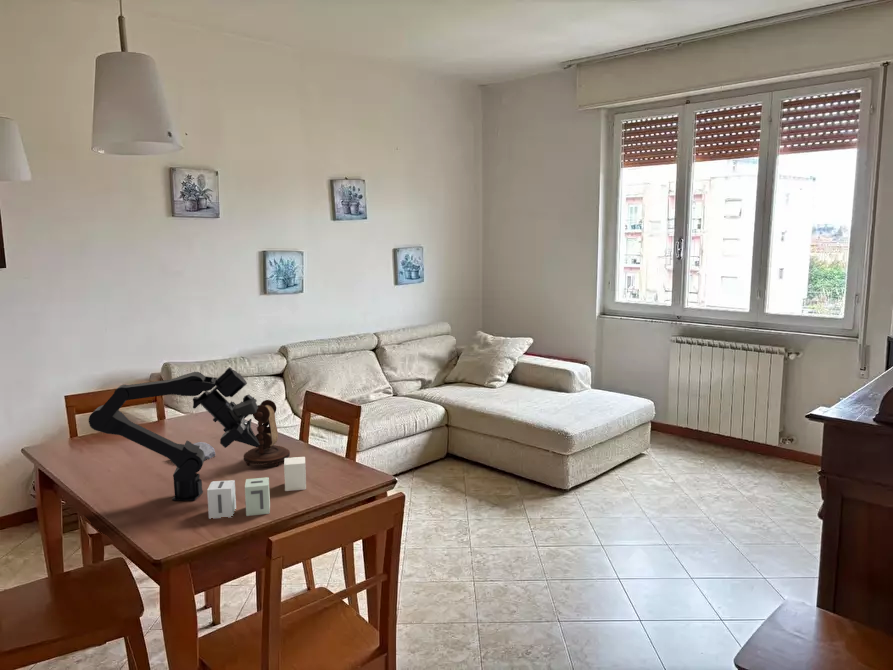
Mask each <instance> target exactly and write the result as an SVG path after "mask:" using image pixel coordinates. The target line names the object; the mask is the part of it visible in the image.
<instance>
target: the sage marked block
mask: <svg viewBox="0 0 893 670" xmlns="http://www.w3.org/2000/svg"><path fill="white" fill-rule="evenodd" d="M244 498H245V499H244V500H245V515H246V517H249V516H259V515H268V514H270V513H271V512H270V511H271V500H270V499H271V498H270V478H269V476H268V477H267V476H266V477H257V478H246V479H245V484H244Z"/></svg>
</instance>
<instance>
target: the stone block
mask: <svg viewBox="0 0 893 670" xmlns="http://www.w3.org/2000/svg"><path fill="white" fill-rule="evenodd" d="M193 444H194V445H196V446H200V449H201V450H202V451H203V452H204V455H205V459H204V461H207V460H206V459H208V460H210V458H211V459H213V458H215V457H216V451H215V448H214V447H213V446H212V445H211V444H209V443H207V442H203V441H199V442H195V443H193ZM214 456H215V457H214ZM212 457H213V458H212Z"/></svg>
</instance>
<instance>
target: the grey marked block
mask: <svg viewBox="0 0 893 670" xmlns="http://www.w3.org/2000/svg"><path fill="white" fill-rule="evenodd" d="M206 491H207V507H208V508H207V509H208V511H207V512H208V519H209V520H211V518H213V519H222V518H221V517H228V518H232V517H231V516H233V517H234V515H233V514H235V512H234V511H236V510H237V499H236V498H237V497H236V481H235V479H231V480H229V479H228V480H216V481H210V484H209V486H208V488H207V489H206ZM235 509H236V510H235Z"/></svg>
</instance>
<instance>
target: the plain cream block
mask: <svg viewBox="0 0 893 670" xmlns="http://www.w3.org/2000/svg"><path fill="white" fill-rule="evenodd" d="M283 461H284V462H283V463H284V464H283V472H284V474H283V475H284V491H285V492H289V491H302V490H306V489H307V474H306V473H307V472H306V468H307V467H306V456H297V457H296V456H295V457H288V458H285V459H284V460H283Z"/></svg>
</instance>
